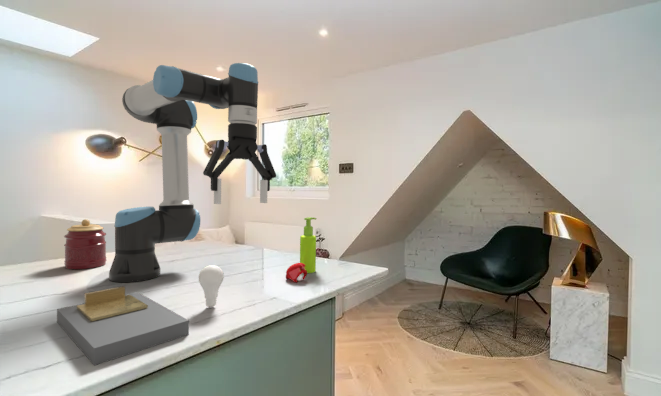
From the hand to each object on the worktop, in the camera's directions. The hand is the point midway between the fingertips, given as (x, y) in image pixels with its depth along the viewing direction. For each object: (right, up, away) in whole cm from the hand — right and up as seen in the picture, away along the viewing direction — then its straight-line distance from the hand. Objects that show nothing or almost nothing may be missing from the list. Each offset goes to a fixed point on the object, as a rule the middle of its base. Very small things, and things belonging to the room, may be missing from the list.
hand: (241, 203), depth 93 cm
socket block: (-22, -27, -18) cm, 39 cm away
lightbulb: (-7, -27, -4) cm, 28 cm away
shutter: (-26, -24, -14) cm, 38 cm away
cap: (+13, -27, +22) cm, 37 cm away
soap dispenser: (+16, -26, +35) cm, 47 cm away
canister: (-69, -24, +37) cm, 82 cm away
